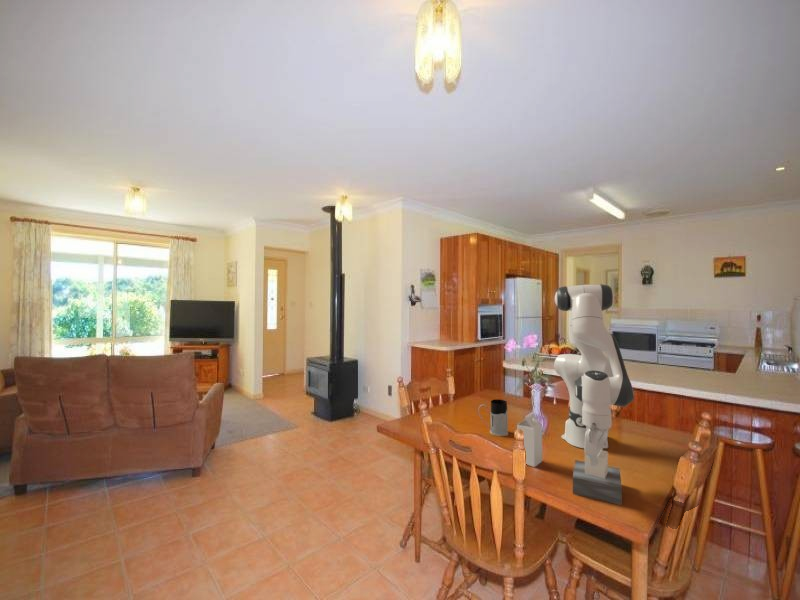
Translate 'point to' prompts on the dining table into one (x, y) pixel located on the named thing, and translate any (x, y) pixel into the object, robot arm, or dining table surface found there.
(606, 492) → the slate box
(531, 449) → the milk carton
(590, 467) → the ivory block
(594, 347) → the robot arm
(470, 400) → the dining table surface
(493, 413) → the grey mug
